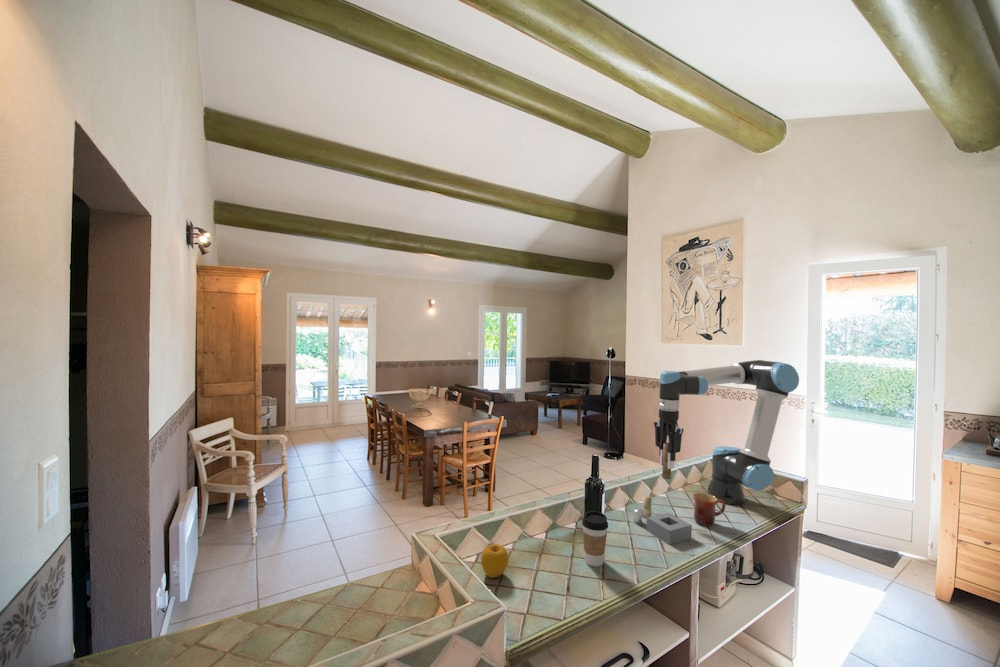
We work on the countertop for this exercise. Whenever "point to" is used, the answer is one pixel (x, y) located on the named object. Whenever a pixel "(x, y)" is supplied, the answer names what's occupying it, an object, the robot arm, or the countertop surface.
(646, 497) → the beech pin
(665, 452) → the walnut pin
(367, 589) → the countertop surface
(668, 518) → the hole block
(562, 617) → the countertop surface
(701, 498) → the mug
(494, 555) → the apple
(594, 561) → the coffee cup
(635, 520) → the steel pin
